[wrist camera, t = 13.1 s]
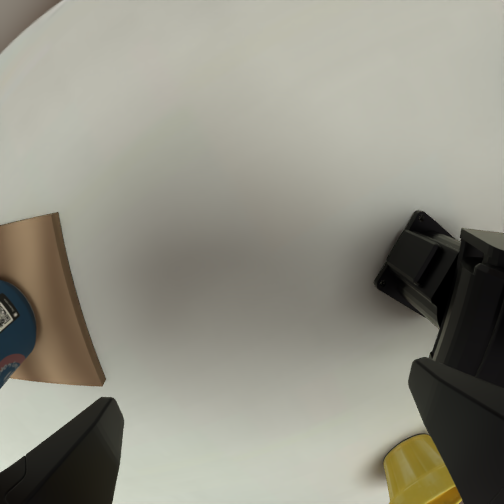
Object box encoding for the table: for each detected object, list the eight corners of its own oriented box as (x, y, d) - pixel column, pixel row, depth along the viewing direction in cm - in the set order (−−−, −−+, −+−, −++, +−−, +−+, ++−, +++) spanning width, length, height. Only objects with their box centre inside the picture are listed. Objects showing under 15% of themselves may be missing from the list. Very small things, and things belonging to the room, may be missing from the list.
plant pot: (455, 431, 29) (489, 480, 19) (397, 479, 31) (420, 530, 21) (421, 412, 26) (462, 475, 17) (352, 468, 28) (376, 533, 19)
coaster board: (58, 212, 19) (51, 214, 18) (105, 379, 23) (102, 386, 22) (-48, 238, 18) (-55, 241, 17) (-3, 370, 22) (-7, 375, 21)
